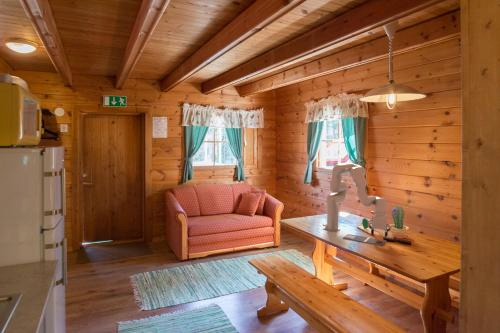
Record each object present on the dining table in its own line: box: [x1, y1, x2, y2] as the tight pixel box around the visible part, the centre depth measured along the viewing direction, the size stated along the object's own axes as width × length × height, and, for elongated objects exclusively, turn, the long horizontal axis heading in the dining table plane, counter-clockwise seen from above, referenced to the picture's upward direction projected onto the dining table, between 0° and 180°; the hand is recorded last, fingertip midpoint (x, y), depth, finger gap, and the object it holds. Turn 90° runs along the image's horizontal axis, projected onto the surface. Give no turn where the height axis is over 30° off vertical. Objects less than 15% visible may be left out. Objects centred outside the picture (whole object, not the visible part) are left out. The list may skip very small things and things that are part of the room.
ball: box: [374, 233, 384, 242], centre depth 256 cm, size 6×6×6 cm
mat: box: [342, 233, 387, 247], centre depth 263 cm, size 30×13×1 cm, turn 56°
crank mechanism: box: [356, 210, 380, 237], centre depth 285 cm, size 25×7×19 cm, turn 12°
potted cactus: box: [389, 205, 410, 239], centre depth 271 cm, size 15×15×25 cm
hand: (379, 235), depth 256 cm, fingers open, 9 cm apart
